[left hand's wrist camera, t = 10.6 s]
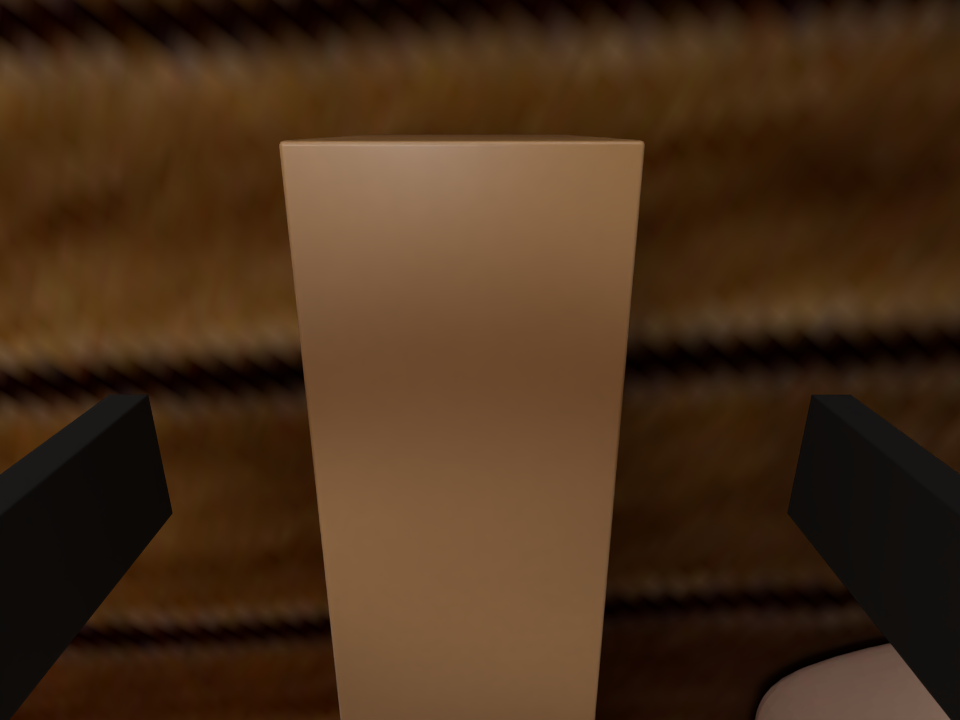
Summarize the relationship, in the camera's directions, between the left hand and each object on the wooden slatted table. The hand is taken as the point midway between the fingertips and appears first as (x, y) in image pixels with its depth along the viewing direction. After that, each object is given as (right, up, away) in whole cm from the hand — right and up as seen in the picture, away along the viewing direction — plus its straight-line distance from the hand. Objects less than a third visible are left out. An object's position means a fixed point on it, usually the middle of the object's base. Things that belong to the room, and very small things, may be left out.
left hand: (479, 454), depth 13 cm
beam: (0, -20, +12) cm, 24 cm away
